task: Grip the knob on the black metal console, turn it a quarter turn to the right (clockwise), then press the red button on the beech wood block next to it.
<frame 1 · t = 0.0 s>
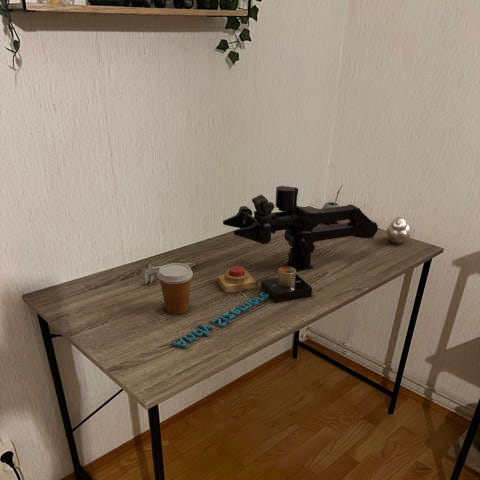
hand: (228, 227, 148), 17 cm above the table, tool horizontal, fingers open, 9 cm apart
start button: (236, 271, 149), point 4 cm above the table, slide at 0.1 cm
mate gourd: (330, 223, 202), on the table
knob: (286, 276, 145), point 5 cm above the table, hinge at 0.0°
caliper: (171, 275, 157), on the table
silver spiral shell: (396, 243, 184), on the table
nameplate: (225, 319, 133), on the table
dial console: (285, 292, 148), on the table
disposable coffee cup: (177, 309, 139), on the table
button block: (236, 285, 152), on the table
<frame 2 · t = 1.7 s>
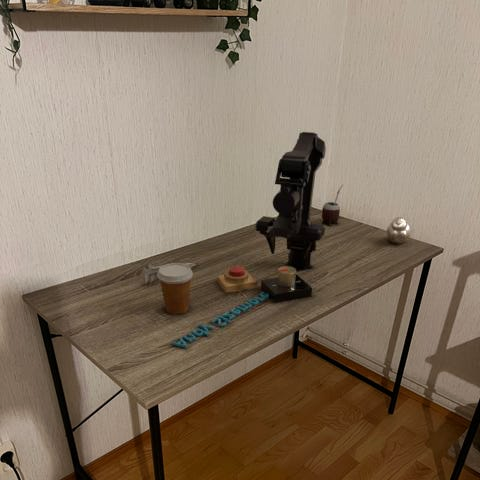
hand: (287, 256, 142), 12 cm above the table, tool pointing down, fingers open, 9 cm apart
nothing on the table moved.
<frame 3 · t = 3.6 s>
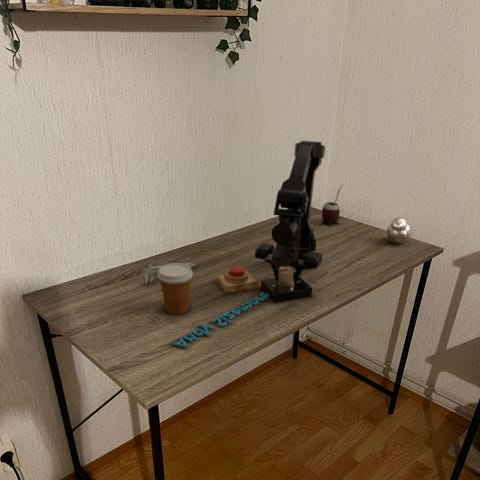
hand: (286, 282, 146), 4 cm above the table, tool pointing down, fingers closed on knob, 5 cm apart
knob: (286, 276, 145), point 5 cm above the table, hinge at 0.0°, touching gripper
everything else where it was.
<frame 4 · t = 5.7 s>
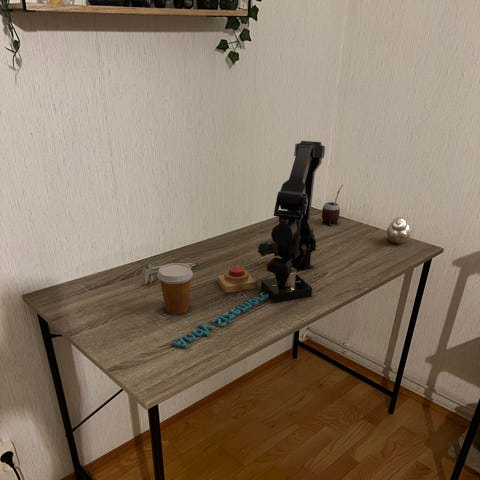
hand: (285, 284, 145), 3 cm above the table, tool pointing down, fingers open, 8 cm apart
knob: (286, 276, 145), point 5 cm above the table, hinge at -90.4°
everything else where it was.
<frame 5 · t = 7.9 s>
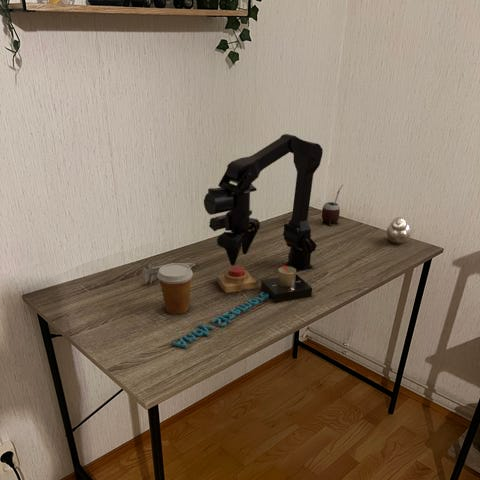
hand: (238, 259, 147), 9 cm above the table, tool pointing down, fingers open, 9 cm apart
nothing on the table moved.
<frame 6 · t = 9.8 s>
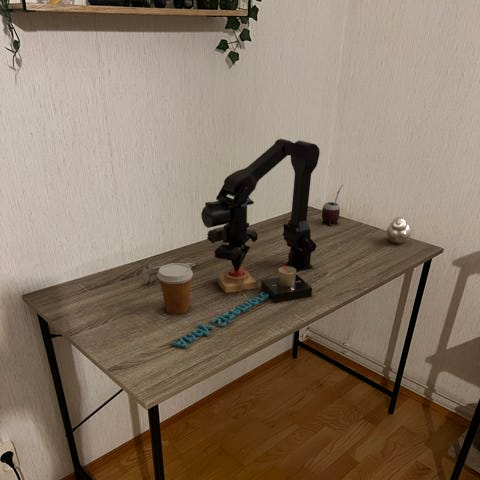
hand: (236, 270, 149), 5 cm above the table, tool pointing down, fingers closed, pressing on start button
start button: (236, 273, 150), point 4 cm above the table, slide at -0.3 cm, touching gripper
everything else where it was.
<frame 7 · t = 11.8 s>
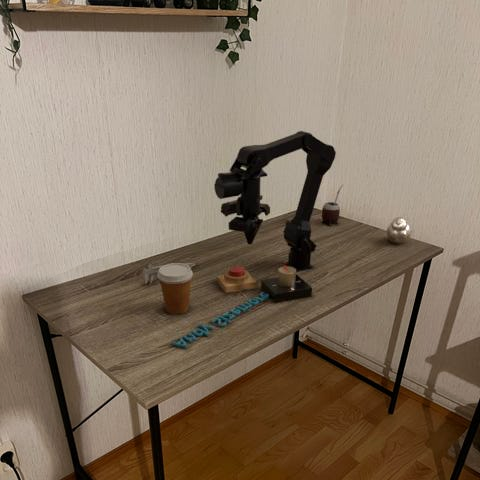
hand: (249, 243, 150), 12 cm above the table, tool pointing down, fingers closed
start button: (236, 271, 149), point 4 cm above the table, slide at 0.1 cm
everything else where it was.
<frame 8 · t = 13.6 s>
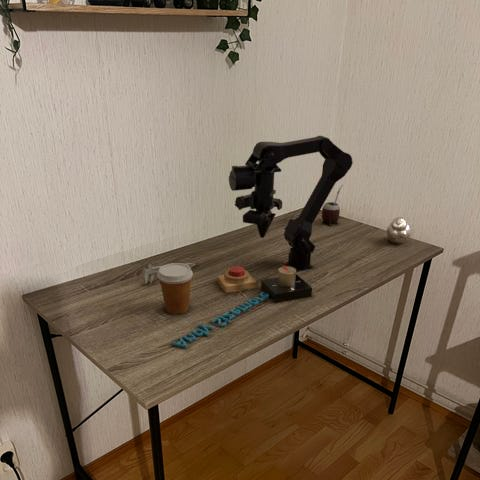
hand: (262, 237, 154), 12 cm above the table, tool pointing down, fingers closed
nothing on the table moved.
at the end: knob at -90° (first picture: +0°); start button pushed in 1.1 cm at the most during the clip, back to where it started at the end; start button slide at 0.1 cm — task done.
